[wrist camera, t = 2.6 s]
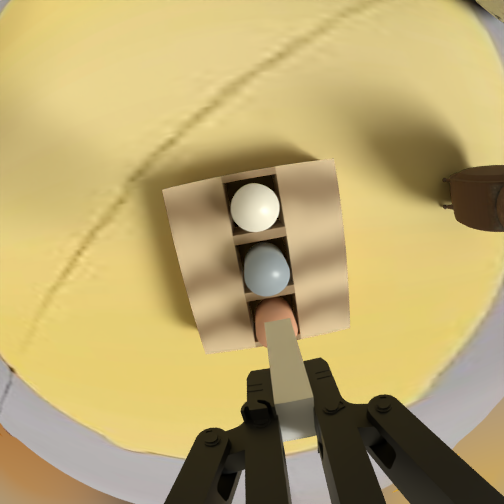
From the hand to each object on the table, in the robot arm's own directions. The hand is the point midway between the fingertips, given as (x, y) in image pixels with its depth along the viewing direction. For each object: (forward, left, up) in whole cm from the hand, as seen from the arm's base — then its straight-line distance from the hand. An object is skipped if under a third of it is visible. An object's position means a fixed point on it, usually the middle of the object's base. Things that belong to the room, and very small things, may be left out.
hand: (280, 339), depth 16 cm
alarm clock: (-4, +32, -20) cm, 38 cm away
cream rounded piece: (-7, 0, -16) cm, 17 cm away
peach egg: (+6, 0, -16) cm, 17 cm away
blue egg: (0, 0, -16) cm, 16 cm away
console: (0, 0, -19) cm, 19 cm away
